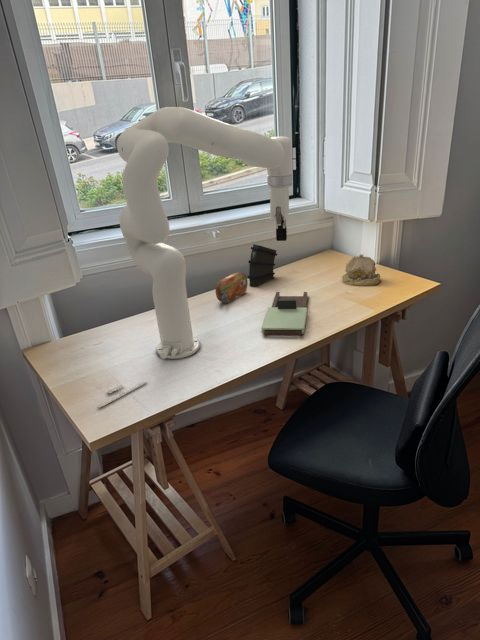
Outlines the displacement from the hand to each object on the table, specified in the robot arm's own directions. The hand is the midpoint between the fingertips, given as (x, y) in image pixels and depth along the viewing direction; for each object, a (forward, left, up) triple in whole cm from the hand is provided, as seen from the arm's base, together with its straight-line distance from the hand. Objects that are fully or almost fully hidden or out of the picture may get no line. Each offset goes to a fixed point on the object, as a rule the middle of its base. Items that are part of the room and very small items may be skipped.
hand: (281, 239), depth 160 cm
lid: (-16, -2, -22) cm, 27 cm away
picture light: (-55, +37, -23) cm, 71 cm away
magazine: (+24, +10, -23) cm, 35 cm away
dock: (-8, -2, -23) cm, 25 cm away
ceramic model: (+24, -27, -23) cm, 42 cm away
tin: (+7, +19, -23) cm, 31 cm away
